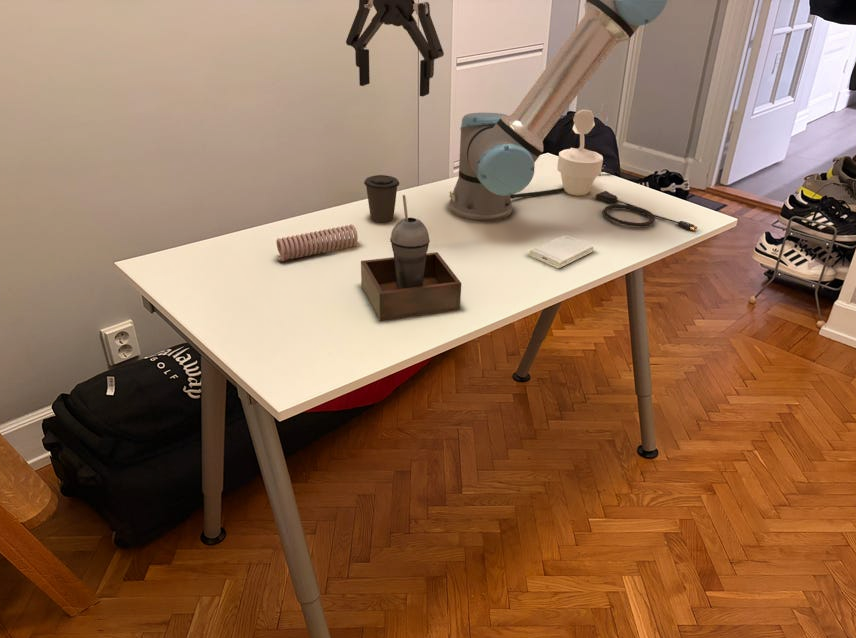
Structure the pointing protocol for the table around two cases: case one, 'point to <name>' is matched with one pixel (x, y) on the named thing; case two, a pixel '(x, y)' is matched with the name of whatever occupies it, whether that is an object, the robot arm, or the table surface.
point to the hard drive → (561, 251)
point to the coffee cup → (381, 197)
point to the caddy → (410, 289)
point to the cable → (612, 199)
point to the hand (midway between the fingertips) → (394, 89)
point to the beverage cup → (409, 250)
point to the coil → (316, 242)
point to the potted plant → (580, 159)
